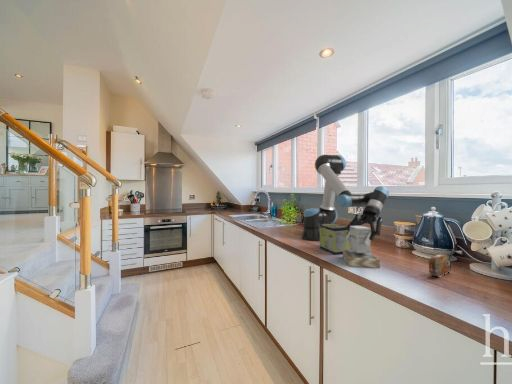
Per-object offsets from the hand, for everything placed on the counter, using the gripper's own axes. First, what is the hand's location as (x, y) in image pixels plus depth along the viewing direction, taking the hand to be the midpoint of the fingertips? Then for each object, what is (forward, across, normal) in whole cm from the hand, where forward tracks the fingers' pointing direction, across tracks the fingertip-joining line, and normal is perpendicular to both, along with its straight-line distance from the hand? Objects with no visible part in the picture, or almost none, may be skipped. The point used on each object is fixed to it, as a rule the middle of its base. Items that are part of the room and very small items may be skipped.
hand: (356, 242), depth 105 cm
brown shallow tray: (+5, 0, -10) cm, 11 cm away
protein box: (+1, +20, -14) cm, 25 cm away
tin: (-4, -28, -20) cm, 35 cm away
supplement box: (+1, 0, -6) cm, 6 cm away
